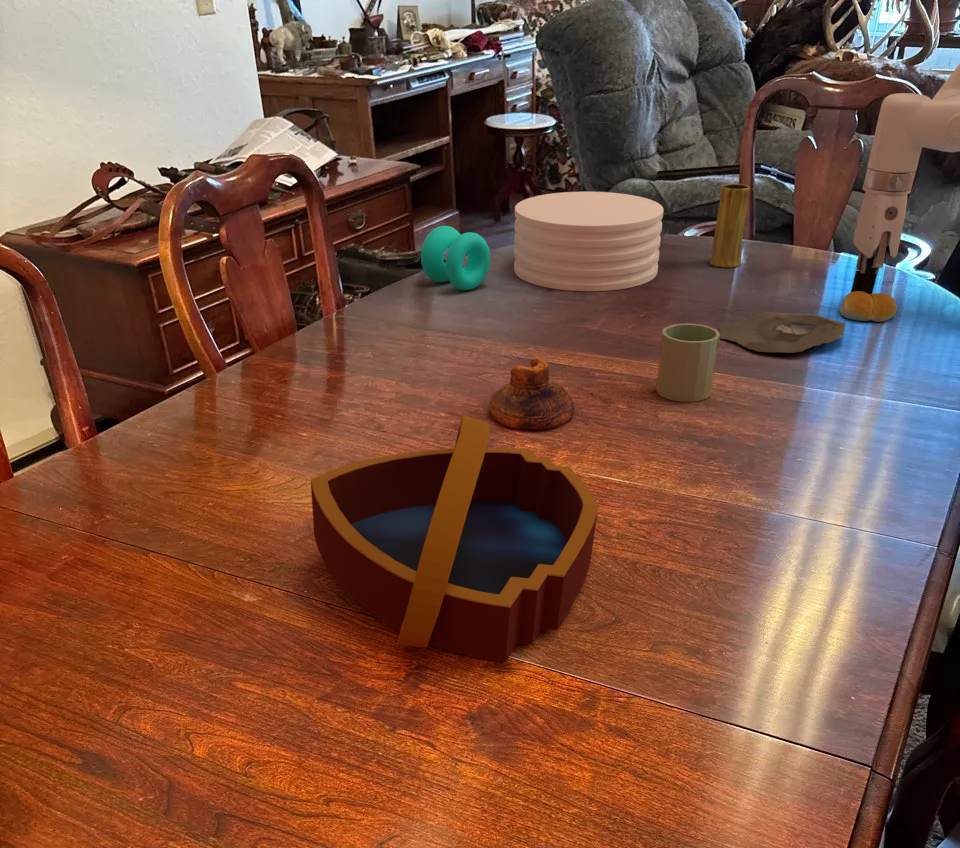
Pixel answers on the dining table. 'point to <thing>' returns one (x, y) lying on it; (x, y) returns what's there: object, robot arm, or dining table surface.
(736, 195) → the vase
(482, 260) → the donuts
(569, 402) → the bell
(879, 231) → the robot arm
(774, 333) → the fabric swatch
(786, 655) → the dining table surface
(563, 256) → the plate stack
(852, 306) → the bread roll
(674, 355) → the teacup
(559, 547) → the decorative basket
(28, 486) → the dining table surface
